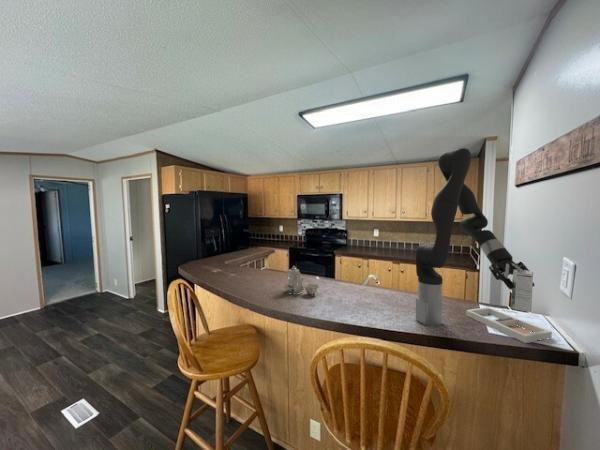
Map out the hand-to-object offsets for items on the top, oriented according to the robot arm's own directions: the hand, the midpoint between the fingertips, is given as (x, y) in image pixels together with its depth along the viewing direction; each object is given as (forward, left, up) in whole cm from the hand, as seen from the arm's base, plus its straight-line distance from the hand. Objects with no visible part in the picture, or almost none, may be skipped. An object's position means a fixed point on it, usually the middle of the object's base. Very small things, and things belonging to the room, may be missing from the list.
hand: (522, 287), depth 96 cm
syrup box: (0, 0, -8) cm, 8 cm away
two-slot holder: (0, +6, -18) cm, 19 cm away
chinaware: (-71, +72, -18) cm, 103 cm away
